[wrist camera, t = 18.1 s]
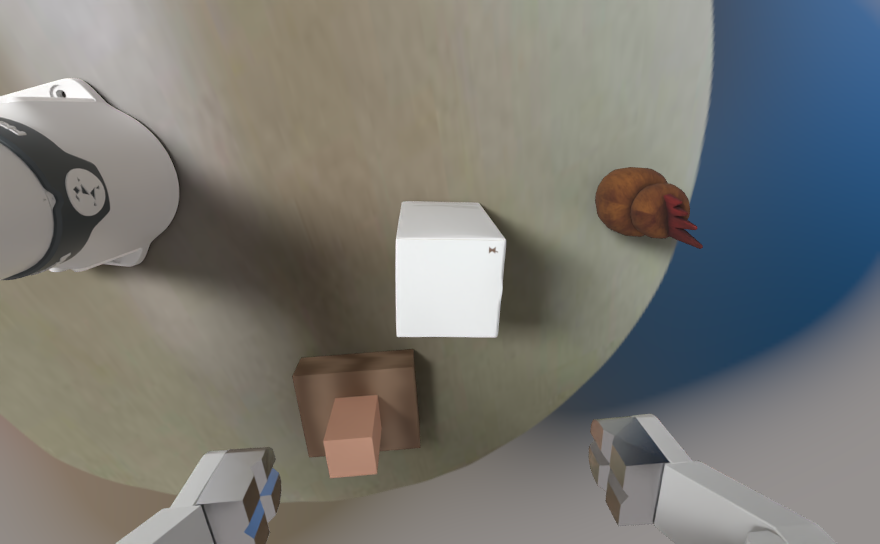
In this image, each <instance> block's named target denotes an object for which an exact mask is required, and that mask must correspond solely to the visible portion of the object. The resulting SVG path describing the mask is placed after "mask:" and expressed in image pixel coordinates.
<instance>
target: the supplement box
mask: <svg viewBox="0 0 880 544" xmlns="http://www.w3.org/2000/svg"><path fill="white" fill-rule="evenodd" d="M505 252H506V239H505V238H504V236H503V235H502V234H501V232H500V231H499V230H498V228H497V227H496V225H495V224H494V223H493V221H492V220H491V219H490V217H489V216H488V214H487V213H486V212H485V210H484V209H483V208H482V206H481V205H480V203H470V202H422V201H404V202H402V205H401V211H400V217H399V223H398V230H397V236H396V261H395V283H396V333H397V337H497V336H498V327H499V316H500V306H501V297H502V291H503V285H502V284H503V273H504V262H505Z"/></svg>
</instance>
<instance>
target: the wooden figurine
mask: <svg viewBox="0 0 880 544" xmlns="http://www.w3.org/2000/svg"><path fill="white" fill-rule="evenodd" d="M595 202H596V208H597V214H598V216H599V218H600V219H601V220H602V222H603V223H604V224H605V225H606V226H607V227H608V228H610V229H611V230H613V231H616V232H618V233H621V234H623V235H626V236H638V237H641V236H644V235H646V236H648V237H651V238H660V239H662V238H667V237H669V236H670V237H672V238H674V239H676V240H679V241H682V242H684V243H686V244H689V245H692V246H694V247H696V248H699V249H701V248H702V245H701V244H700V243H699V242H698V241H697V240H696V239H695V238H694V237H692V236H691V235H690V234H689V233H688V232H687V231H686V230H684V229H690V230H696V229H697V226H696V225H694V224H692V223H691V222H689V221H688V218H689V214H690V206H689V200H688V198H687V196H686V195H685V193H684V192H683V191H682V190H681V189H679V188H678V187H676V186H675V185H672V184H668V183H667V181H666V179H665V178H664V177H663V176H662V175H661V174H660V173H658V172H656V171H654V170H652V169H648V168H635V167H628V168H622V169H616V170H614V171H612V172H611V173H609V174H608V175H607V176H605V177H604V178H603V180H602V181H601V183H600V184H599V186H598V189H597V192H596V199H595Z"/></svg>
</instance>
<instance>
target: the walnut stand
mask: <svg viewBox="0 0 880 544" xmlns="http://www.w3.org/2000/svg"><path fill="white" fill-rule="evenodd" d="M292 378H293V382H294V387H295V392H296V397H297V402H298V406H299V411H300V416H301V421H302V426H303V430H304V435H305V440H306V445H307V450H308V454H309V457H319V456H326V453H325V448H324V443H323V440H324V437H325V433H326V429H327V426H328V422H329V419H330V415H331V412H332V408H333V405H334V401H335V398H344V397H357V396H369V395H378V403H379V411H380V419H381V427H382V430H381V440H380V449H379V451H389V450H400V449H412V448H420V422H419V410H418V399H417V387H416V375H415V364H414V352H413V349H409V350H396V351H383V352H370V353H357V354H344V355H331V356H318V357H305V358H301V359H300V361H299V363H298V365H297V368H296V370H295V372H294V374H293V376H292Z"/></svg>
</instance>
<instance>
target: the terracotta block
mask: <svg viewBox="0 0 880 544" xmlns="http://www.w3.org/2000/svg"><path fill="white" fill-rule="evenodd" d="M381 430H382V427H381V419H380V411H379V403H378V395H369V396H357V397H344V398H335V401H334V405H333V408H332V412H331V415H330V419H329V422H328V426H327V429H326V433H325V437H324V440H323V443H324V448H325V453H326V459H327V464H328V469H329V474H330V478H338V477H349V476H360V475H372V474H377V469H378V459H379V449H380V440H381Z"/></svg>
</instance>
